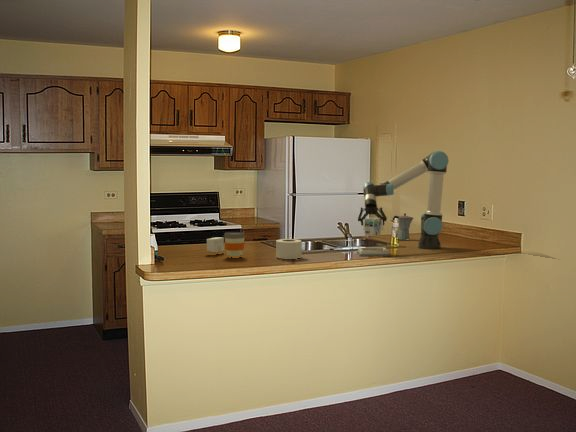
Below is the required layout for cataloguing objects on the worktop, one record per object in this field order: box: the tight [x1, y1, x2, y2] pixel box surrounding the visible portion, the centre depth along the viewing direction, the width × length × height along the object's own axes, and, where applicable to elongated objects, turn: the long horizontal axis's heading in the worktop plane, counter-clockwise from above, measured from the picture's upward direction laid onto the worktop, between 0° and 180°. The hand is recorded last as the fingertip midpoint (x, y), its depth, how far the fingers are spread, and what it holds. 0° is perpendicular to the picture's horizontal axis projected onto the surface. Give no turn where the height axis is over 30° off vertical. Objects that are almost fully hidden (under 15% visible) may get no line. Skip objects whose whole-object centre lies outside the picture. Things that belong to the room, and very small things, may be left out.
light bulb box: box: [364, 217, 382, 237], centre depth 394 cm, size 11×7×11 cm, turn 147°
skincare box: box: [206, 236, 225, 252], centre depth 395 cm, size 10×6×10 cm, turn 152°
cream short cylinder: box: [275, 238, 303, 260], centre depth 379 cm, size 16×15×11 cm
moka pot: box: [392, 212, 414, 241], centre depth 468 cm, size 10×15×20 cm, turn 78°
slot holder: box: [356, 246, 391, 257], centre depth 395 cm, size 19×19×3 cm
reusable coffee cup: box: [223, 231, 246, 256], centre depth 381 cm, size 13×13×15 cm
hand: (373, 228), depth 391 cm, fingers closed on light bulb box, 11 cm apart
